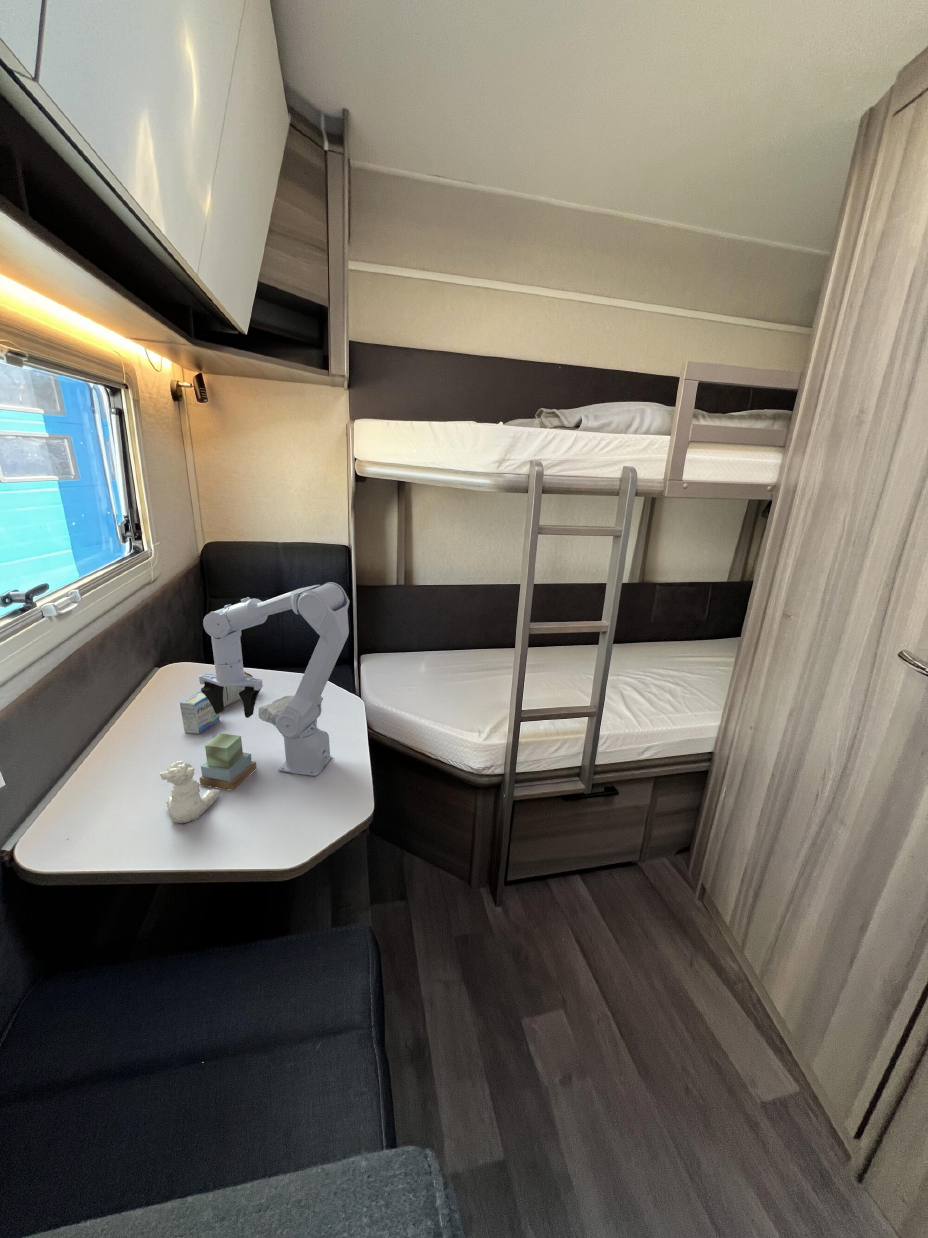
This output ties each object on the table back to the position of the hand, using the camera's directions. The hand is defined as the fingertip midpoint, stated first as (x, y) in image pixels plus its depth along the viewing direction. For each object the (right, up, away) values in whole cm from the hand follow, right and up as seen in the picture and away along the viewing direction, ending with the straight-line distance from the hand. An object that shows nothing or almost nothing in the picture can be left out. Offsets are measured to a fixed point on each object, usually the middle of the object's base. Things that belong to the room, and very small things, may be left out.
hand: (234, 714), depth 109 cm
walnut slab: (+2, -13, -6) cm, 15 cm away
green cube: (+2, -9, -7) cm, 12 cm away
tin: (-14, -2, +28) cm, 31 cm away
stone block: (+3, -5, +23) cm, 23 cm away
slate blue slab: (+2, -11, -6) cm, 13 cm away
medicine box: (-16, -6, +14) cm, 22 cm away
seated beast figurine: (0, -16, -17) cm, 24 cm away
